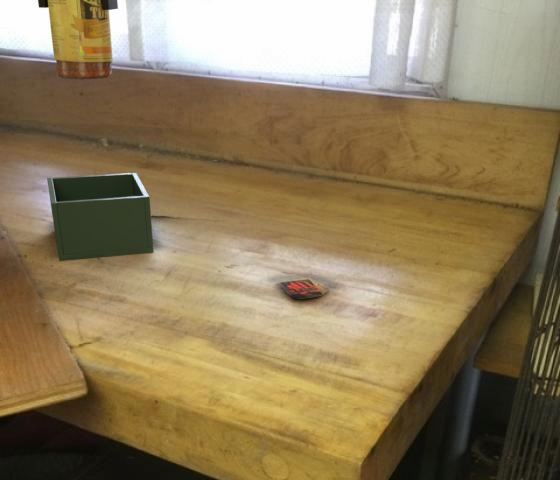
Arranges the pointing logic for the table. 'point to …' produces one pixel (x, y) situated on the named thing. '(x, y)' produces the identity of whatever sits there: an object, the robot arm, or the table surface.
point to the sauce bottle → (81, 38)
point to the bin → (100, 215)
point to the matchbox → (303, 288)
